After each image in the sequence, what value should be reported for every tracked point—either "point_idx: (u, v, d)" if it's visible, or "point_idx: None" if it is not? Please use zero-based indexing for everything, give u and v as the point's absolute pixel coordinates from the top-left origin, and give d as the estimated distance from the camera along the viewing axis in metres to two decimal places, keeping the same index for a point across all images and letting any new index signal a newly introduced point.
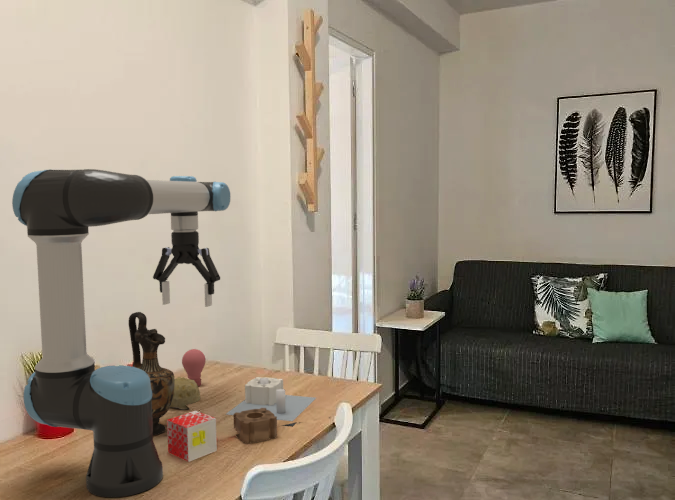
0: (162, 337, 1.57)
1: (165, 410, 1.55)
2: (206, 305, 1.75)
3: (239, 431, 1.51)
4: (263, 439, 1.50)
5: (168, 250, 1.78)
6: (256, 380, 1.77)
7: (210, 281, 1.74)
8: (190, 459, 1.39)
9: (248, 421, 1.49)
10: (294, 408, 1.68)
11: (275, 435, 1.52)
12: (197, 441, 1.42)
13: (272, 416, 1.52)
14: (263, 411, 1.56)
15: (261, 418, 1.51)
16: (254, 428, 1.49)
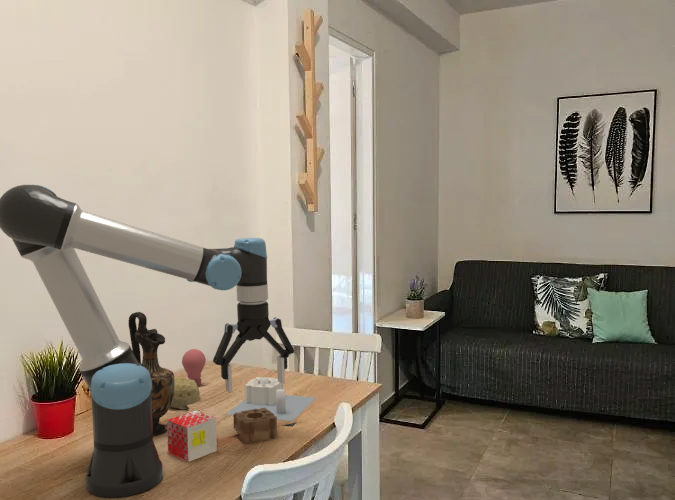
0: (162, 337, 1.57)
1: (165, 410, 1.55)
2: (283, 382, 1.55)
3: (239, 431, 1.51)
4: (263, 439, 1.50)
5: (233, 327, 1.48)
6: (256, 380, 1.77)
7: None
8: (190, 459, 1.39)
9: (248, 421, 1.49)
10: (294, 408, 1.68)
11: (275, 435, 1.52)
12: (197, 441, 1.42)
13: (272, 416, 1.52)
14: (263, 411, 1.56)
15: (261, 418, 1.51)
16: (254, 428, 1.49)
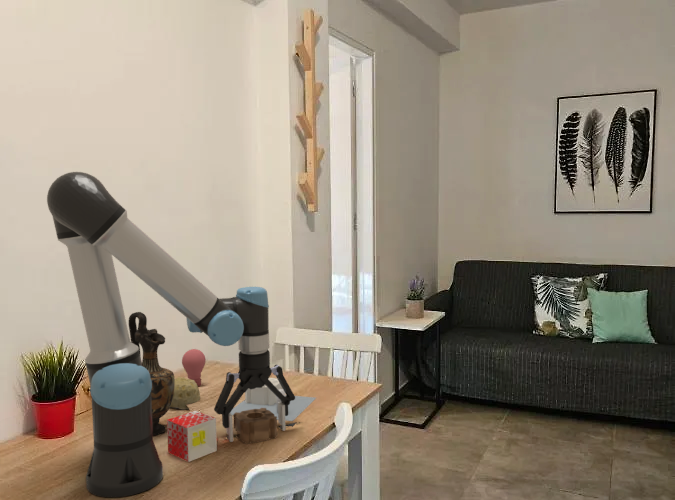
0: (162, 337, 1.57)
1: (165, 410, 1.55)
2: (284, 429, 1.56)
3: (239, 431, 1.51)
4: (263, 439, 1.50)
5: (235, 376, 1.50)
6: None
7: None
8: (190, 459, 1.39)
9: (248, 421, 1.49)
10: (294, 408, 1.68)
11: (275, 435, 1.52)
12: (197, 441, 1.42)
13: (272, 416, 1.52)
14: (263, 411, 1.56)
15: (261, 418, 1.51)
16: (254, 428, 1.49)
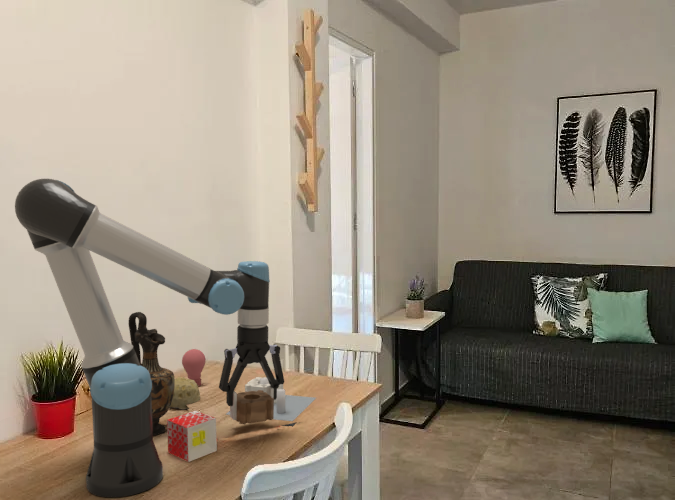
0: (162, 337, 1.57)
1: (165, 410, 1.55)
2: None
3: None
4: (259, 420, 1.49)
5: (232, 352, 1.49)
6: (256, 380, 1.77)
7: None
8: (190, 459, 1.39)
9: (245, 402, 1.49)
10: (294, 408, 1.68)
11: (272, 417, 1.51)
12: (197, 441, 1.42)
13: (269, 398, 1.52)
14: (261, 393, 1.55)
15: (258, 399, 1.51)
16: (250, 409, 1.48)
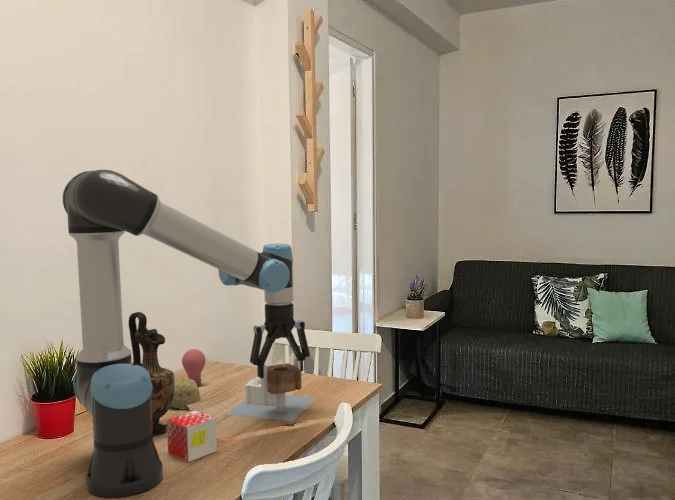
0: (162, 337, 1.57)
1: (165, 410, 1.55)
2: None
3: None
4: (289, 390, 1.61)
5: (261, 328, 1.60)
6: (256, 380, 1.77)
7: None
8: (190, 459, 1.39)
9: (275, 373, 1.60)
10: (294, 408, 1.68)
11: (300, 387, 1.63)
12: (197, 441, 1.42)
13: (297, 369, 1.63)
14: (288, 366, 1.67)
15: (287, 371, 1.62)
16: (280, 380, 1.60)
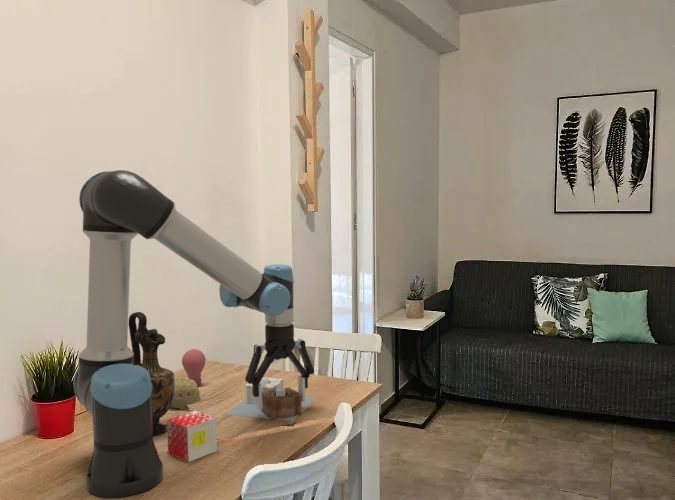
0: (162, 337, 1.57)
1: (165, 410, 1.55)
2: (304, 400, 1.67)
3: (267, 408, 1.62)
4: (289, 415, 1.62)
5: (261, 348, 1.61)
6: None
7: None
8: (190, 459, 1.39)
9: (275, 399, 1.61)
10: None
11: (300, 412, 1.64)
12: (197, 441, 1.42)
13: (297, 394, 1.64)
14: (288, 390, 1.68)
15: (287, 396, 1.63)
16: (281, 405, 1.60)
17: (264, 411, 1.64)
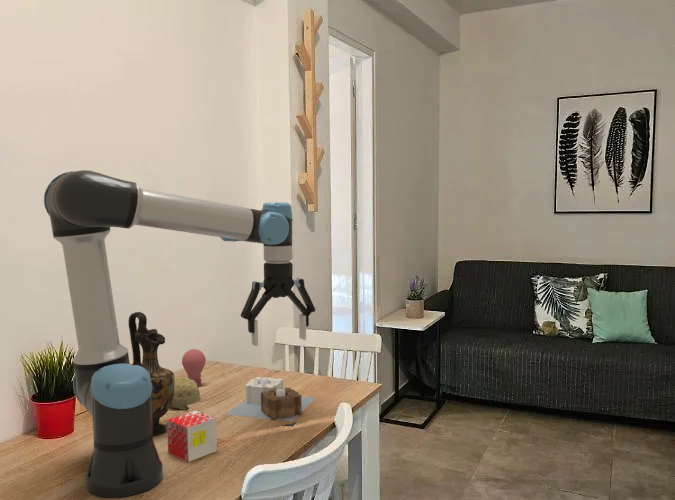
0: (162, 337, 1.57)
1: (165, 410, 1.55)
2: (305, 338, 1.66)
3: (267, 408, 1.62)
4: (289, 415, 1.62)
5: (260, 284, 1.59)
6: (256, 380, 1.77)
7: None
8: (190, 459, 1.39)
9: (275, 399, 1.61)
10: None
11: (300, 412, 1.64)
12: (197, 441, 1.42)
13: (297, 394, 1.64)
14: (288, 390, 1.68)
15: (287, 396, 1.63)
16: (281, 405, 1.60)
17: (264, 411, 1.64)
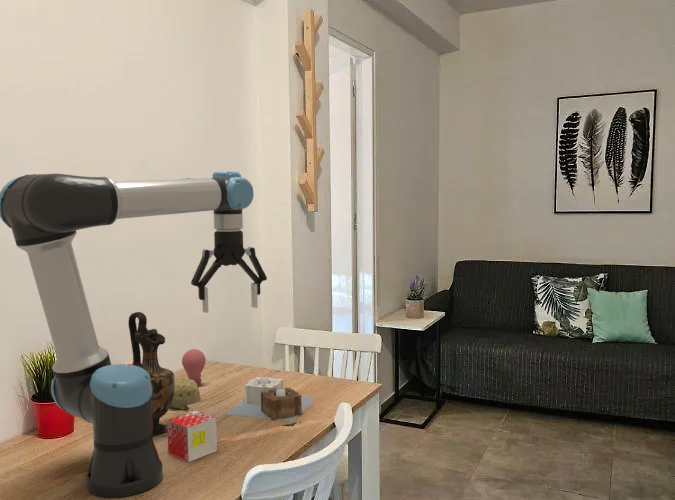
0: (162, 337, 1.57)
1: (165, 410, 1.55)
2: (256, 306, 1.68)
3: (267, 408, 1.62)
4: (289, 415, 1.62)
5: (210, 252, 1.62)
6: (256, 380, 1.77)
7: None
8: (190, 459, 1.39)
9: (275, 399, 1.61)
10: None
11: (300, 412, 1.64)
12: (197, 441, 1.42)
13: (297, 394, 1.64)
14: (288, 390, 1.68)
15: (287, 396, 1.63)
16: (281, 405, 1.60)
17: (264, 411, 1.64)
